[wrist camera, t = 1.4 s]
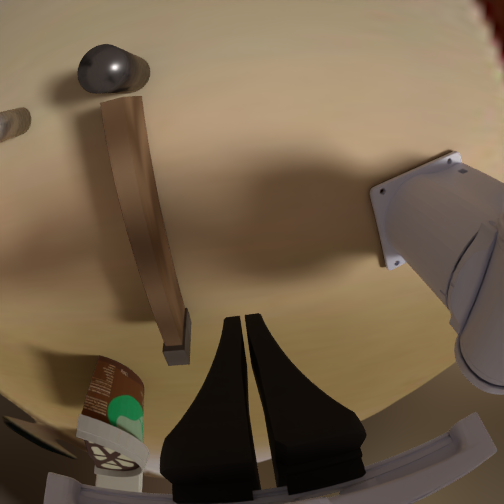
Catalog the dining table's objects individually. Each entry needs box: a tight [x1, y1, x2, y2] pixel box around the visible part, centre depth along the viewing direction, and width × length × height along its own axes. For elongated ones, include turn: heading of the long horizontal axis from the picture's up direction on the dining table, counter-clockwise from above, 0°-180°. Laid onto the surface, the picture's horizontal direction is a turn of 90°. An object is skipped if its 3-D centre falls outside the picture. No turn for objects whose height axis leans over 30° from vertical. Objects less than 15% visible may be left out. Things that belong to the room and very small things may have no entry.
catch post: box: [0, 107, 31, 142], centre depth 13 cm, size 2×2×4 cm
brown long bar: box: [100, 96, 191, 366], centre depth 18 cm, size 18×2×4 cm, turn 4°
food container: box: [76, 355, 149, 478], centre depth 24 cm, size 12×6×10 cm, turn 163°
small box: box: [95, 471, 143, 493], centre depth 31 cm, size 8×6×13 cm
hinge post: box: [78, 44, 150, 94], centre depth 12 cm, size 2×2×6 cm
